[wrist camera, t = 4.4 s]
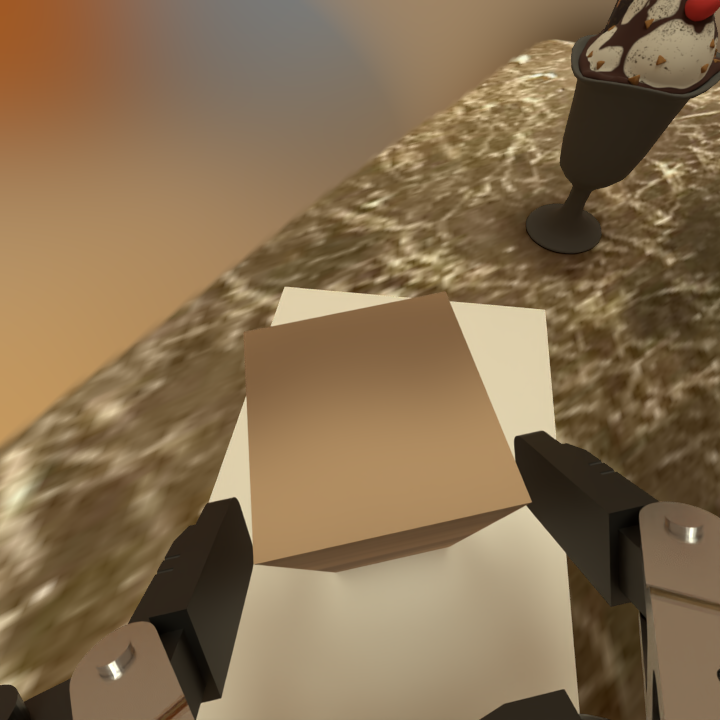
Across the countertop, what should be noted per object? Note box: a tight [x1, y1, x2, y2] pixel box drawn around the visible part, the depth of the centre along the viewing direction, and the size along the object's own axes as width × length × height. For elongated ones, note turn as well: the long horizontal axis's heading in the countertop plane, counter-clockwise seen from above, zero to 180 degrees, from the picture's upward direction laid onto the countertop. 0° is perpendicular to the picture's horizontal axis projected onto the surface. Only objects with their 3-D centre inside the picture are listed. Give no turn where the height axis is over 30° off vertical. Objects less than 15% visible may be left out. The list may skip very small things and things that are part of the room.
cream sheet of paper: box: [196, 287, 580, 720], centre depth 18 cm, size 24×16×1 cm, turn 170°
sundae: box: [526, 0, 720, 254], centre depth 20 cm, size 7×7×15 cm
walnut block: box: [244, 291, 532, 573], centre depth 13 cm, size 5×5×11 cm
